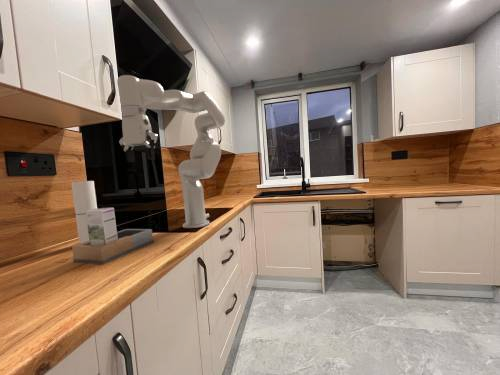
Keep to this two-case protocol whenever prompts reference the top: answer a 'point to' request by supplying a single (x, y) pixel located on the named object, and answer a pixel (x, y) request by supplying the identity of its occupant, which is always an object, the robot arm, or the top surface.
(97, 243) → the syrup box
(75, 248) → the shallow storage tray
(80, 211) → the cylindrical container
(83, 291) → the top surface
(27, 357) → the top surface
